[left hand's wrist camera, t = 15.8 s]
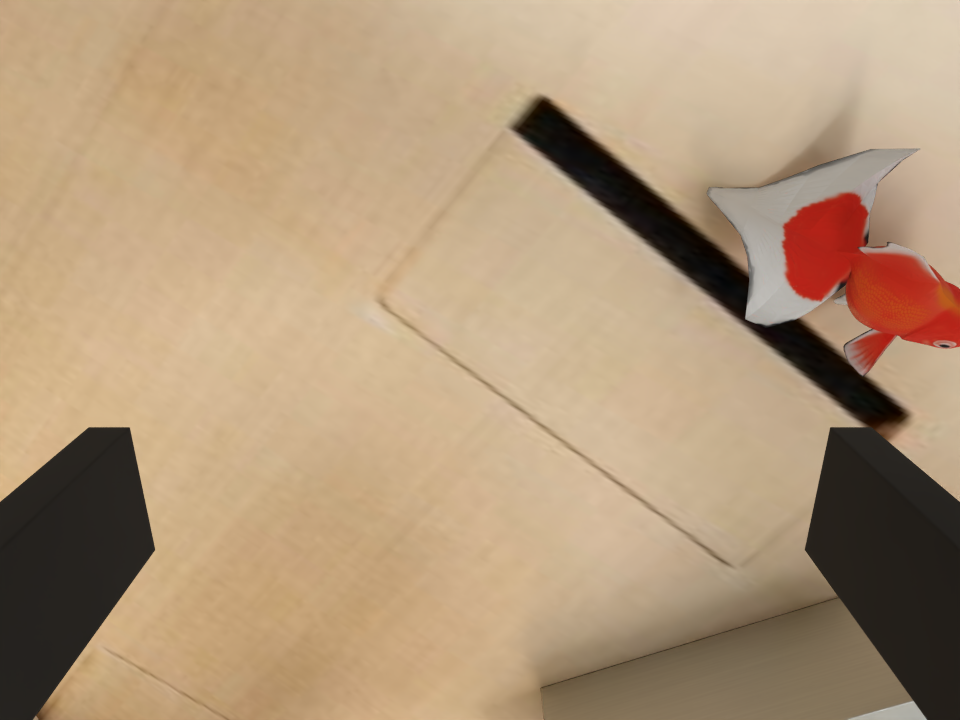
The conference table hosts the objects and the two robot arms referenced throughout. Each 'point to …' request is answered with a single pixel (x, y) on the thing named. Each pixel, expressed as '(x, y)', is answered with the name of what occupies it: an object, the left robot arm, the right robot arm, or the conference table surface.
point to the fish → (838, 257)
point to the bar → (747, 677)
